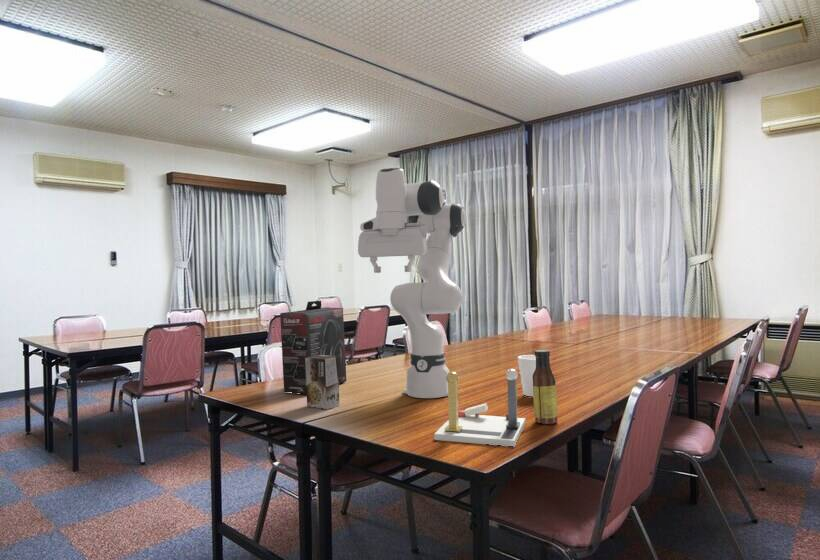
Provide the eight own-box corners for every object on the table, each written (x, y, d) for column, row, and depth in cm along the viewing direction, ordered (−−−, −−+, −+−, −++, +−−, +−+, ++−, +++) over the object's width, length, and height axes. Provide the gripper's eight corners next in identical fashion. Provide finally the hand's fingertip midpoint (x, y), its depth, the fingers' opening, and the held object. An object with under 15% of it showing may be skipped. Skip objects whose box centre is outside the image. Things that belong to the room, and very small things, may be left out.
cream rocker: (468, 413, 145) (466, 408, 145) (488, 408, 143) (486, 403, 143) (465, 416, 142) (464, 411, 143) (486, 411, 140) (484, 405, 141)
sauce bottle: (561, 421, 142) (560, 350, 142) (551, 426, 137) (549, 352, 137) (540, 417, 146) (538, 348, 146) (529, 422, 142) (527, 350, 142)
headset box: (309, 396, 181) (307, 302, 180) (281, 393, 186) (278, 302, 186) (347, 382, 203) (345, 299, 202) (320, 380, 208) (318, 299, 208)
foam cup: (517, 397, 170) (516, 358, 170) (520, 391, 179) (519, 354, 179) (547, 399, 167) (546, 359, 167) (548, 392, 176) (547, 355, 176)
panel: (455, 418, 148) (454, 409, 148) (525, 423, 141) (525, 413, 141) (434, 439, 129) (434, 429, 129) (514, 447, 122) (514, 435, 122)
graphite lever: (508, 423, 135) (506, 367, 135) (520, 424, 134) (519, 367, 134) (505, 427, 132) (504, 370, 132) (518, 428, 130) (516, 370, 130)
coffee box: (340, 405, 166) (339, 355, 166) (326, 410, 161) (325, 358, 161) (319, 402, 171) (318, 354, 171) (305, 406, 166) (304, 356, 166)
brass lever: (447, 426, 133) (446, 370, 133) (462, 428, 132) (461, 370, 132) (444, 430, 130) (443, 372, 130) (459, 431, 129) (458, 373, 129)
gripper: (429, 223, 146) (430, 271, 146) (364, 227, 153) (365, 273, 153) (422, 220, 140) (423, 271, 140) (355, 224, 147) (355, 273, 147)
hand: (392, 272), depth 146 cm, fingers open, 8 cm apart
